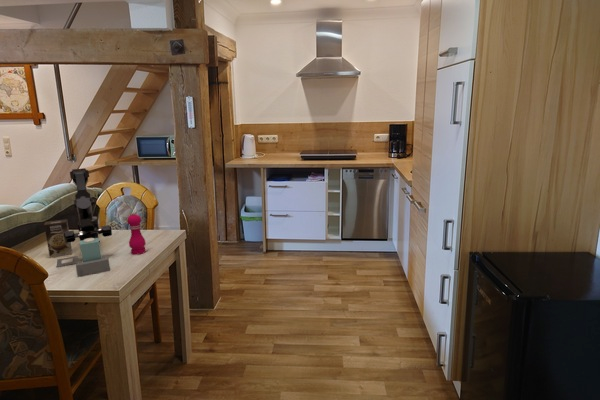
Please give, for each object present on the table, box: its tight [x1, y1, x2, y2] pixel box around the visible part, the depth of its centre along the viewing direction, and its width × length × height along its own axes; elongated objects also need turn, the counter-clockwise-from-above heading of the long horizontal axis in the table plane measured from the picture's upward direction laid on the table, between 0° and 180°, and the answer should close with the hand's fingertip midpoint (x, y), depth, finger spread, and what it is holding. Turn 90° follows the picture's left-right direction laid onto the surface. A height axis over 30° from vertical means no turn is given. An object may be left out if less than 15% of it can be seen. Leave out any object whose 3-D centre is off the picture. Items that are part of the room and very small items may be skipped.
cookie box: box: [43, 218, 73, 259], centre depth 184 cm, size 9×6×16 cm
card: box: [56, 255, 79, 268], centre depth 176 cm, size 10×8×1 cm
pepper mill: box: [126, 211, 146, 256], centre depth 183 cm, size 7×7×20 cm
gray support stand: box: [75, 256, 111, 278], centre depth 166 cm, size 11×12×5 cm
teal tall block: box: [79, 237, 103, 263], centre depth 166 cm, size 6×7×13 cm
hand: (91, 250), depth 172 cm, fingers closed
